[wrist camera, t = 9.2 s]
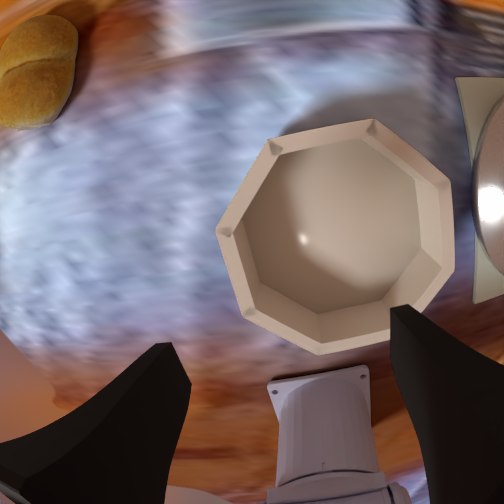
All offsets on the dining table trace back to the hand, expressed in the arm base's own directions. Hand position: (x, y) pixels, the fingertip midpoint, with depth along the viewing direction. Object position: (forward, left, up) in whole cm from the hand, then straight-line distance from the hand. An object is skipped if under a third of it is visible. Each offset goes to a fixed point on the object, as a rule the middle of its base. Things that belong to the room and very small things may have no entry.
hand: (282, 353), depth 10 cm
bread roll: (+17, +14, -11) cm, 24 cm away
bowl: (0, -3, -10) cm, 11 cm away
